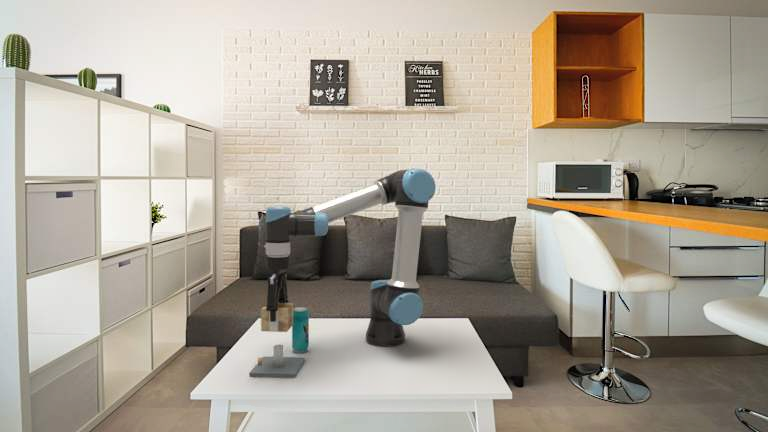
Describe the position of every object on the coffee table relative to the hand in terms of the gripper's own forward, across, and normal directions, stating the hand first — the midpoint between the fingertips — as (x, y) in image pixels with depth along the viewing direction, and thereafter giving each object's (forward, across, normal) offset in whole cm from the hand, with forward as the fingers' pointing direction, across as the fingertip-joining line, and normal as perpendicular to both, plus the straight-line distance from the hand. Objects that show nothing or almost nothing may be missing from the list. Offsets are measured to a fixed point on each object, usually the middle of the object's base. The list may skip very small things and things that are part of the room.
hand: (277, 327), depth 143 cm
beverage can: (+13, -17, +4) cm, 22 cm away
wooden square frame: (0, 0, 0) cm, 0 cm away
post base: (+13, 0, 0) cm, 13 cm away
